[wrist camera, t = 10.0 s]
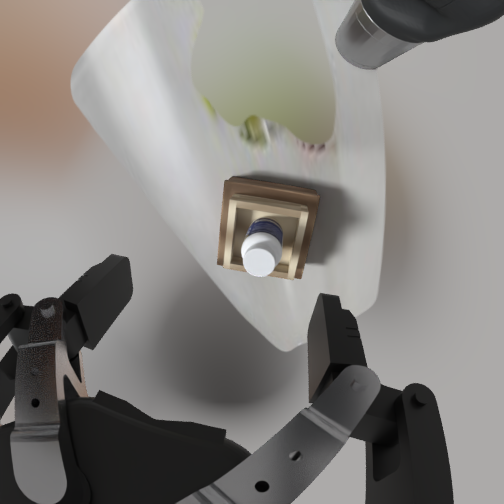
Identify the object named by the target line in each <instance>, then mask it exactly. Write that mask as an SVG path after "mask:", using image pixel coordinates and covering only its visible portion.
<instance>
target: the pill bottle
mask: <svg viewBox="0 0 504 504" xmlns="http://www.w3.org/2000/svg"><path fill="white" fill-rule="evenodd" d="M282 246H283V230H282V227H281V225H280V224H279V223H278V222H277V221H276V220H275V219H273V218H270V217H261V218H258V219H256V220H254V221H253V222H252V223H251V225H250V226H249V229H248V231H247V234H246V236H245V239H244V242H243V244H242V248H241V254H242V258H243V265H244V268H245V269H246V271H247V272H248V273H250V274H251V275H253V276H257V277H264V276H267V275H269V274H270V273H271V272H272V271H273V270H274V268H275V266H277V265H278V263H279V262H280V260H281V257H282Z"/></svg>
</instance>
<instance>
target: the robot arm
mask: <svg viewBox="0 0 504 504" xmlns="http://www.w3.org/2000/svg"><path fill="white" fill-rule="evenodd" d="M503 15H504V0H355V1H354V3H353V5H352V6H351V8H350V10H349V12H348V14H347V15H346V17H345V19H344V21H343V22H342V24H341V26H340V28H339V29H338V31H337V34H336V39H335V40H336V46H337V49H338V51H339V52H340V54H341V55H342V56H343V57H344V59H346V60H347V61H348V62H349V63H351V64H353V65H354V66H357V67H359V68H363V69H374V68H378V67H380V66H382V65H383V64H385V63H387V62H389V61H391V60H392V59H394V58H396V57H398V56H399V55H401V54H403V53H405V52H407V51H408V50H411V49H412V48H414V47H416V46H418V45H420V44H422V43H424V42H434V41H438V40H440V39H443V38H446V37H449V36H452V35H455V34H459V33H463V32H467V31H470V30H474V29H477V28H480V27H483V26H485V25H487V24H490V23H492V22H493V21H495V20H497V19H499V18H500V17H501V16H503ZM132 293H133V284H132V277H131V269H130V261H129V259H128V258H127V257H124V256H119V255H114V254H111V255H110V256H109V257H108V258H106V259H105V260H104V261H103V262H102V263H99V264H97V265H95V266H93V267H91V268H90V269H89V270H88V271H87V272H85V273H84V276H81V277H80V278H79V279H78V281H76V282H75V283H74V284H73V285H72V286H71V287H69V289H67V290H66V291H65V292H64V294H62V295H61V296H60V297H59V298H54V297H49V298H45V299H42V300H40V301H39V302H38V303H36V304H35V306H24V305H23V303H22V301H21V298H20V297H19V295H17V294H8V295H5V296H3V297H2V298H1V299H0V343H1V342H2V341H3V339H4V338H5V337H6V336H7V335H8V337H9V339H10V340H11V342H12V344H13V345H12V347H11V348H10V349H9V351H8V352H7V353H6V355H5V356H4V357H3V359H2V360H1V362H0V420H1V418H2V416H3V414H4V413H5V411H6V409H7V407H8V406H9V404H10V402H11V401H12V399H13V397H14V396H15V421H14V422H11V423H8V424H5V425H1V424H0V504H291V503H292V502H293V501H294V500H295V499H296V498H297V497H298V496H299V495H300V494H301V493H302V492H303V491H304V490H305V489H306V488H307V487H308V486H309V485H310V484H311V483H312V481H314V479H315V478H316V477H317V476H318V475H319V474H320V473H321V472H322V471H323V470H324V468H325V467H326V466H327V465H328V464H329V463H330V461H331V460H332V459H333V458H334V457H335V456H336V454H337V453H338V452H339V451H340V449H341V448H342V447H343V445H344V444H345V443H346V441H347V440H348V438H349V437H353V438H356V439H359V440H363V441H365V442H366V501H365V504H454V500H453V489H452V480H451V471H450V464H449V458H448V452H447V446H446V441H445V436H444V431H443V427H442V422H441V418H440V414H439V410H438V406H437V402H436V398H435V396H434V394H433V392H432V391H431V390H430V389H429V388H427V387H426V386H424V385H422V384H418V383H413V384H410V385H408V386H406V388H405V389H404V390H403V391H400V390H397V389H393V388H390V387H387V386H384V385H382V384H380V380H379V378H378V376H377V375H376V374H375V373H374V372H373V371H372V370H371V369H369V368H368V367H367V363H366V359H365V354H364V350H363V346H362V341H361V339H360V333H359V331H358V325H357V321H356V319H355V317H354V316H353V315H352V313H351V312H350V311H349V310H345V309H342V308H341V303H340V299H339V296H336V295H329V294H323V293H320V294H319V296H318V299H317V302H316V305H315V308H314V311H313V314H312V317H311V320H310V323H309V328H308V336H307V338H308V369H309V370H308V373H309V403H313V404H312V405H311V406H310V407H309V408H304V409H303V410H302V411H300V412H299V413H298V414H297V415H296V416H295V417H294V418H293V419H292V420H291V421H290V422H289V423H288V424H287V425H286V426H284V427H283V428H282V429H281V430H280V431H279V432H278V433H277V434H275V435H274V436H273V437H272V438H271V439H270V440H269V441H267V442H266V443H265V444H264V445H263V446H262V447H260V448H259V449H258V450H257V451H255V452H254V453H253V454H251V453H249V451H247V450H246V449H245V448H243V447H242V446H240V445H238V444H237V443H235V442H233V441H232V440H229V439H227V438H225V436H226V430H225V429H220V428H215V427H211V426H206V425H202V424H198V423H194V422H182V421H165V420H156V419H153V418H151V417H150V416H148V415H147V414H145V413H143V412H141V411H140V410H139V409H137V408H136V407H134V406H133V405H131V404H130V403H128V402H127V401H125V400H122V399H119V398H117V397H115V396H112V395H110V394H107V393H105V392H103V391H100V390H99V392H98V393H97V395H96V397H88V394H87V390H86V385H85V377H84V369H83V360H82V353H81V351H80V350H81V348H82V347H83V346H84V347H87V348H89V349H92V350H93V349H94V348H95V347H96V345H97V344H98V342H99V341H100V340H101V338H102V337H103V335H104V334H105V333H106V331H107V330H108V329H109V327H110V326H111V325H112V323H113V322H114V321H115V319H116V318H117V316H118V315H119V314H120V313H121V311H122V310H123V309H124V307H125V306H126V305H127V303H128V302H129V301H130V299H131V296H132Z"/></svg>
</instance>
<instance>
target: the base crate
mask: <svg viewBox="0 0 504 504" xmlns="http://www.w3.org/2000/svg"><path fill="white" fill-rule="evenodd" d="M234 194H241V195H248V196H254V197H261V198H267V199H273V200H279V201H285V202H291V203H296V204H302V205H307V208H308V212H309V213H308V218H307V223H306V227H305V232H304V237H303V241H302V246H301V250H300V254H299V259H298V263H297V267H296V272H295V276H294V278H297V279H301V278H302V274H303V270H304V266H305V262H306V258H307V253H308V249H309V245H310V241H311V237H312V232H313V228H314V223H315V219H316V214H317V210H318V205H319V200H320V195H317V193H316V190H312V189H307V188H301V187H296V186H290V185H284V184H278V183H272V182H266V181H260V180H253V179H246V178H239V177H231V178H230V179H229V180H225V181H224V191H223V201H222V212H221V223H220V234H219V246H218V259H217V265H222V266H223V264H224V253H225V242H226V232H227V221H228V212H229V202H230V199H231V197H232V196H233V195H234Z"/></svg>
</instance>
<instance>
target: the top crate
mask: <svg viewBox="0 0 504 504" xmlns="http://www.w3.org/2000/svg"><path fill="white" fill-rule="evenodd" d="M308 213H309V212H308V208H307V205H302V204H296V203H291V202H285V201H279V200H273V199H267V198H261V197H254V196H248V195H241V194H234V195H233V196H232V197H231V199H230V202H229V212H228V221H227V232H226V242H225V253H224V264H223V268H226V269H232V270H237V271H243V272H247V271H246V269H245V268H244V265H243V258H242V254H241V248H242V244H243V242H244V239H245V236H246V234H247V231H248V229H249V226H250V225H251V223H252V222H253V221H254V220H256V219H258V218H261V217H270V218H273V219H275V220H276V221H277V222H278V223H279V224H280V225H281V227H282V230H283V246H282V257H281V260H280V262H279V263H278V265H277V266H275V268H274V270H273V271H272V272H271V273H270V274H269V275H267V276H272V277H278V278H284V279H290V280H294V276H295V272H296V267H297V263H298V259H299V254H300V250H301V246H302V241H303V237H304V232H305V227H306V223H307V218H308Z"/></svg>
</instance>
